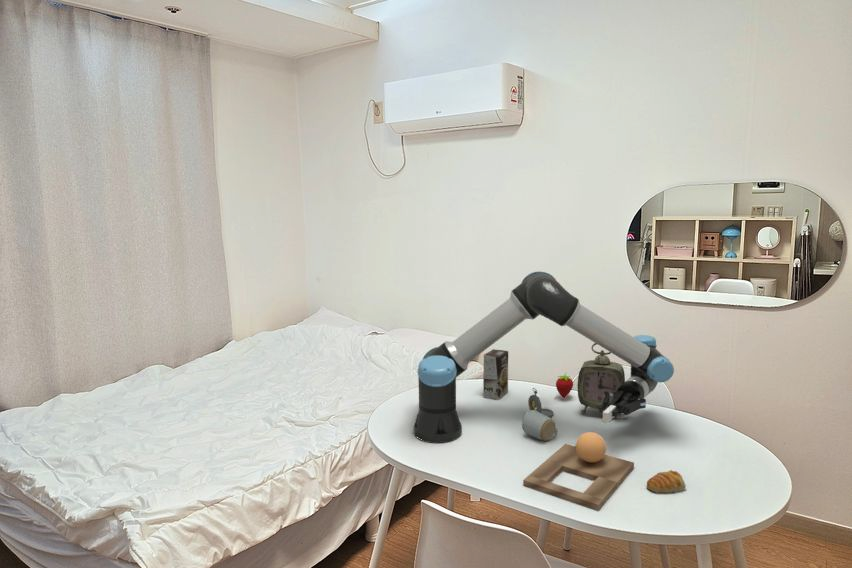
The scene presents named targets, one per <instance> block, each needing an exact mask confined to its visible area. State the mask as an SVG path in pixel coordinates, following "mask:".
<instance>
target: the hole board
mask: <svg viewBox="0 0 852 568" xmlns="http://www.w3.org/2000/svg"><path fill="white" fill-rule="evenodd" d="M634 468H635V462H633V461H629V460H626V459H623V458H620V457H616V456H612V455H609V454H605V455H604V457H603V458H602V459H601V460H600V461H598V462H594V463H591V462H586V461H584V460H583V459H581V458H580V456H579V455H578V453H577V451H576V445H572V444H569V443H564V444H563V445H562V446H561V447H560V448H558V449H557V450H556V451H555V452H554V453H553V454H552V455H550V456H549V457H548V458H547V459H546V460H545V461H544V462H542V463H541V464H540V465H539V466H538V467H536V468H535V469H534V470H533V471H532V472H531V473H529V474H528V475H527V476H526V477H525V478H524V479H523V481H522V482H523V483H522V486H524V487H527V488H530V489H532V490H536V491H539V492H542V493H544V494H548V495H551V496H554V497H555V498H559V499H562V500H566V501H568V502H571V503H574V504H576V505H577V504H578V505H580V506H582V507H586V508H589V509H592V510H595V511H599V510H600V509H602V507H603V506H604V505H605V503H606V502H607V501H608V500H609V498H610V497H611V496H612V495H613V494H614V492H615V491H616V490H617V489H618V487H619V486H620V485H621V484H622V483H623V482H624V481H625V479H626V478H627V476H629V474H630V473H631V471H632V470H634ZM562 472H565V473H567V474H572V475H575V476H578V477H581V478H584V479H587V480H591V481H593V482H592V483H591V484H590V485H589V486H588V487H587V488H586V489H585V490H584V492H581V491H578V490H575V489H572V488H569V487H566V486H563V485H560V484H557V483H553V480H555V479H556V478H557V477H558V476H559V475H560V474H561V473H562Z"/></svg>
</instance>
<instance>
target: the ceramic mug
mask: <svg viewBox="0 0 852 568" xmlns="http://www.w3.org/2000/svg"><path fill="white" fill-rule="evenodd" d="M521 426H522V427H521V429H522V431H523V432H524V434H527V435H529V436H531V437H533V438H535V439H538V440H539V441H543V442H548V441H550V440H552V438H553V437H554V436H555V435H557V434H558V432H559V431H558V428H557V426H556V422H555V420H553V419H552V417H548V416H545V415H543V414H541V413H540V412H538V411H536V409H535V410H530V409H529V411H528V412H526V413H525V415H524V416H523V418H522V422H521Z"/></svg>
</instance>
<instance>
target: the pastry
mask: <svg viewBox="0 0 852 568" xmlns="http://www.w3.org/2000/svg"><path fill="white" fill-rule="evenodd" d="M646 489H648V490H650V491H652V492H654V493H657V494H661V493H664V494H671V493H676V492H675V491H678V492H681V491H680V490H682V491H684V490H685V489H686V483H685V481H684V479H683V476H682V474H681V473H679V472H678V471H677V470H672V469H670V470H668V471H662V472H661V471H660V472H658V473H656V474H655V475H653V476H652V477H651V478H649V479H648V480H647V481H646ZM683 489H684V490H683Z"/></svg>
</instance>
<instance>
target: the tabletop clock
mask: <svg viewBox="0 0 852 568" xmlns="http://www.w3.org/2000/svg"><path fill="white" fill-rule="evenodd" d="M596 345H598V344H596V343H595V342H593V344H592V346H591V351H592V352H593V353H595V354H597V356H595V358H594V359H593V360H592V359H591V360H585V361H583V364H582V366H581V367H580V370H579V372H578V377H577V384H576V385H577V396H578V402H580V403H579V404H580V405H583V406H584V408H583V409H581V410H580V414H581V415H586V414H587V411H586V410H587V409H588V408H593V409H597V410H598V411H599V412H600V413H603V412H604V411H603V400H604V392H606V391H607V392H608V393H611V394H613V392H616V391H617V390H618V388H619V387H620V386H621V385H622V384H623V383H624V382H626V379H625V378H626V377H625V376H626V375H625V370H624V366H623V365H622V364H620V363H618V362H614V361H611V359H610V357H608V356H607V355H611V354H612V353H611V352H609V351H608V352H605V350H603V349H602V350H600V352H599V351H596V350H595V349H594V347H595V346H596ZM612 400H613V398H612V399H611V401H612ZM611 401H609V403H610V402H611ZM614 418H615V419H616V420H618V419H619V418H620V415H618V416H617V417H614Z"/></svg>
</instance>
